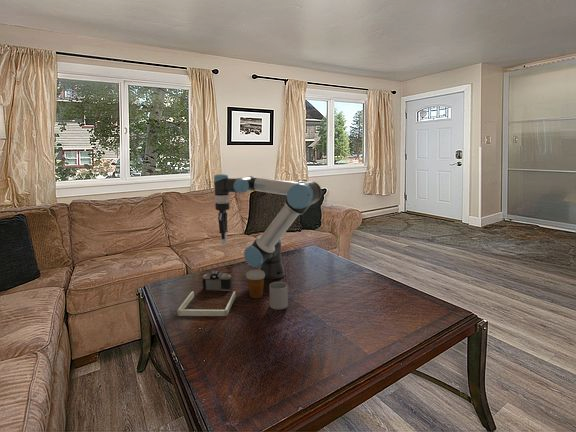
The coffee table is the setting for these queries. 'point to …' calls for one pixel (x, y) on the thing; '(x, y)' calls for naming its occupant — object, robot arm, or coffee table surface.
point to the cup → (278, 295)
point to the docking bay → (190, 312)
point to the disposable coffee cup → (255, 283)
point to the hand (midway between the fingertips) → (224, 243)
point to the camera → (217, 281)
